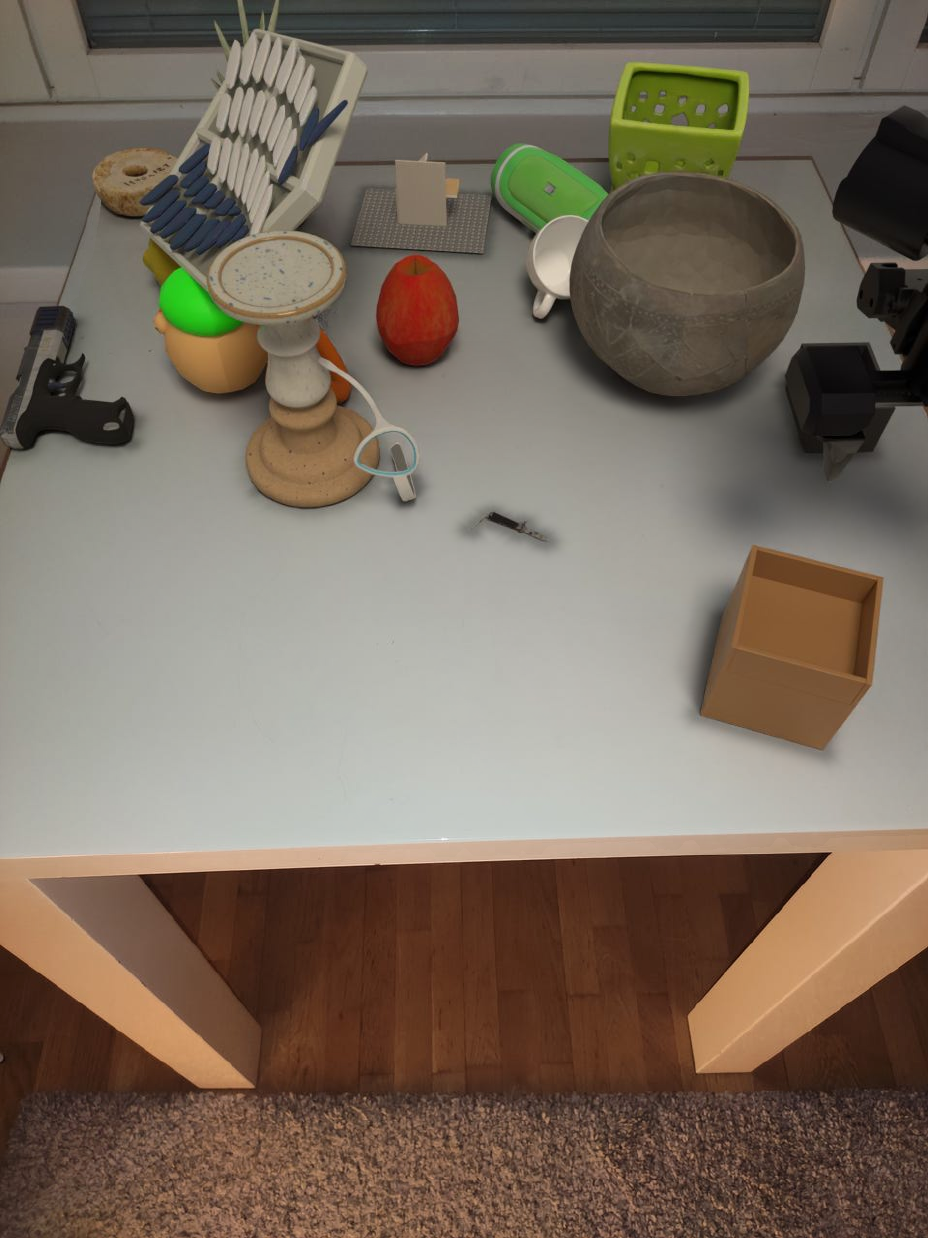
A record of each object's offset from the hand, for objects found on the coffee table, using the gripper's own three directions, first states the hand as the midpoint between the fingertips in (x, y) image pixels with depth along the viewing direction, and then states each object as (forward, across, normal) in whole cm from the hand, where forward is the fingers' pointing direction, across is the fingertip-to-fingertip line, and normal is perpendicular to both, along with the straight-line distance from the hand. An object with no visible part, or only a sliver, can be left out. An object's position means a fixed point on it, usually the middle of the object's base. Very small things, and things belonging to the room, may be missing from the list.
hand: (890, 476), depth 66 cm
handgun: (+12, +62, -26) cm, 69 cm away
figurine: (+13, +55, -26) cm, 62 cm away
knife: (+13, +28, -5) cm, 31 cm away
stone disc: (+11, +64, -55) cm, 85 cm away
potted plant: (+13, +52, -54) cm, 76 cm away
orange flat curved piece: (+13, +42, -24) cm, 50 cm away
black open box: (+13, -4, -19) cm, 24 cm away
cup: (+12, +21, -40) cm, 47 cm away
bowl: (+13, +10, -28) cm, 32 cm away
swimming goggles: (+7, +41, -11) cm, 43 cm away
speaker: (+7, +17, -51) cm, 54 cm away
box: (+13, +7, +10) cm, 18 cm away
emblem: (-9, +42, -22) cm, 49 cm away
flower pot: (+13, +7, -54) cm, 56 cm away
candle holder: (+13, +45, -15) cm, 49 cm away
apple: (+13, +35, -30) cm, 48 cm away
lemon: (+13, +58, -40) cm, 72 cm away
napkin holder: (+13, +35, -52) cm, 64 cm away
